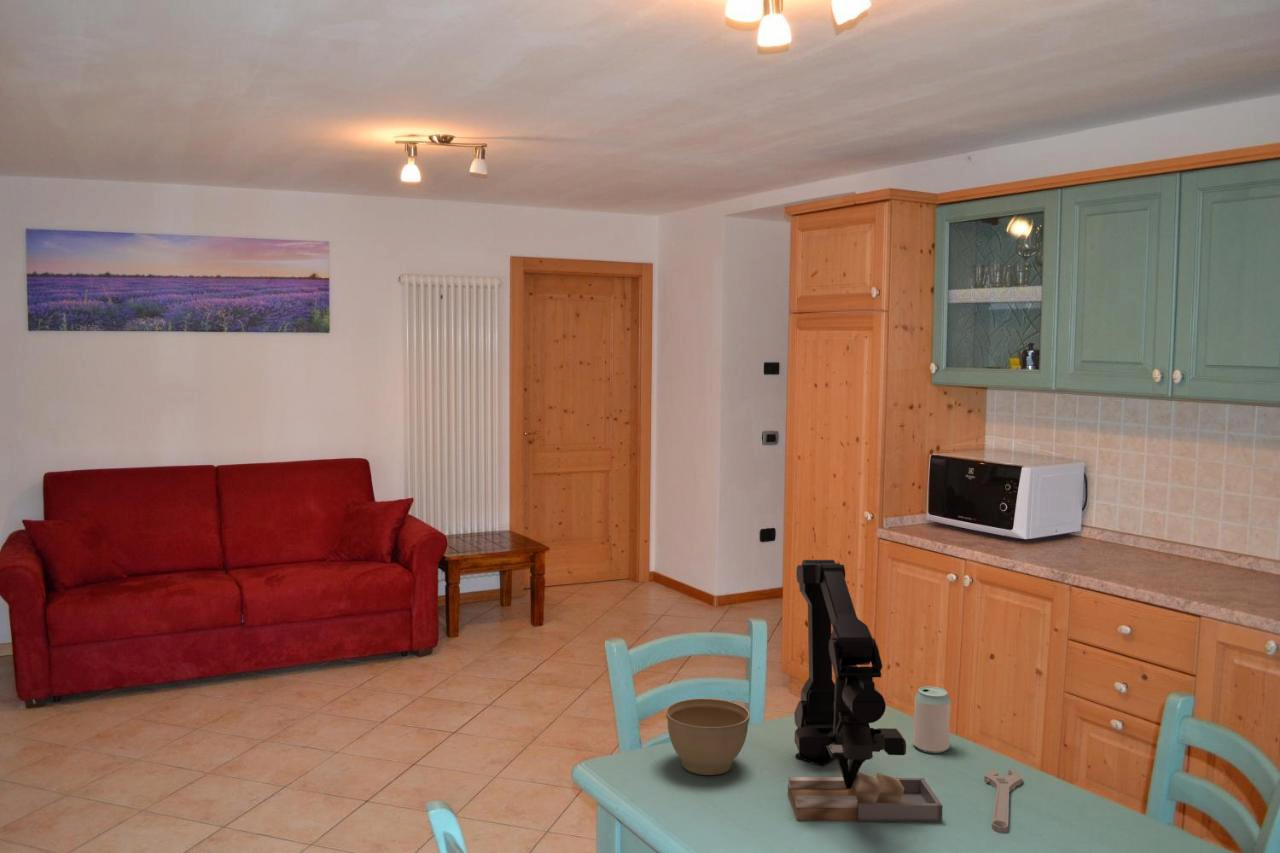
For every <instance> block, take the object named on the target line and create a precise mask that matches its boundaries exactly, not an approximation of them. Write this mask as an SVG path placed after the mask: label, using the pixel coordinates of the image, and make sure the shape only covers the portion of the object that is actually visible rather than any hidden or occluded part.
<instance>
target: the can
mask: <svg viewBox="0 0 1280 853" xmlns="http://www.w3.org/2000/svg"><path fill="white" fill-rule="evenodd" d="M917 690H918V691H917V693H916V694H915V695H914V696H915V697H914V705H913V706H914V708H913V709H914V710H913V712H914V713H913V736H912V737H913V740H912V744H913V746H915V748H916V749H918V750H920V751H921V752H924V753H929V754H942V753H944V752H945V751H947V750H948V749H949V748H950V732H951V731H950V728H951V704H952V701H951V699H950V697H949V696H948V694H949V693H948V691H947V690H946V689H944V688H941V687H937V686H921V687H920V688H918V689H917Z"/></svg>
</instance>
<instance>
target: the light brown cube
mask: <svg viewBox="0 0 1280 853" xmlns="http://www.w3.org/2000/svg"><path fill="white" fill-rule="evenodd" d="M875 778H877V780H878V782H879V784H880V785H881V787H882V788H881V791H880V794H879V796H878V799H877V802H876V803H900V800H901V798H902V795H903V792H904V787H903V786H902V784H901V782H900V781H899V779H896V778H897V777H893V776H889V775H886V774H883V773H880V772H876V776H875Z"/></svg>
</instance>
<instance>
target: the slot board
mask: <svg viewBox="0 0 1280 853" xmlns="http://www.w3.org/2000/svg"><path fill="white" fill-rule="evenodd" d="M787 796H788V797H787V798H788V800H789V802H790V805H791V807H792V810H793V813H794V816H795V819H796V821H857V822H858V808H857V801H858V800H857V798H856V796H850V795H849V793H848V789H846V786H845V783H844V780H843V777H842V776H839V777H838V776H833V777H832V776H826V777H825V776H788V783H787Z"/></svg>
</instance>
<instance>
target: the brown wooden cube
mask: <svg viewBox="0 0 1280 853" xmlns="http://www.w3.org/2000/svg"><path fill="white" fill-rule="evenodd" d="M881 788H882V787H881V785H880V784H879V782H878V780H877V778H876V776H872V775H869V774H865V773H863V772H859V771H858V773H857V775H856V778H855V780H854V783H853V785H852V787H851V789H849V790H848V793H849V795H850V796H856V798H857V800H858V801H857V803H876V802H877V799H878V796H879V794H880V791H881Z"/></svg>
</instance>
